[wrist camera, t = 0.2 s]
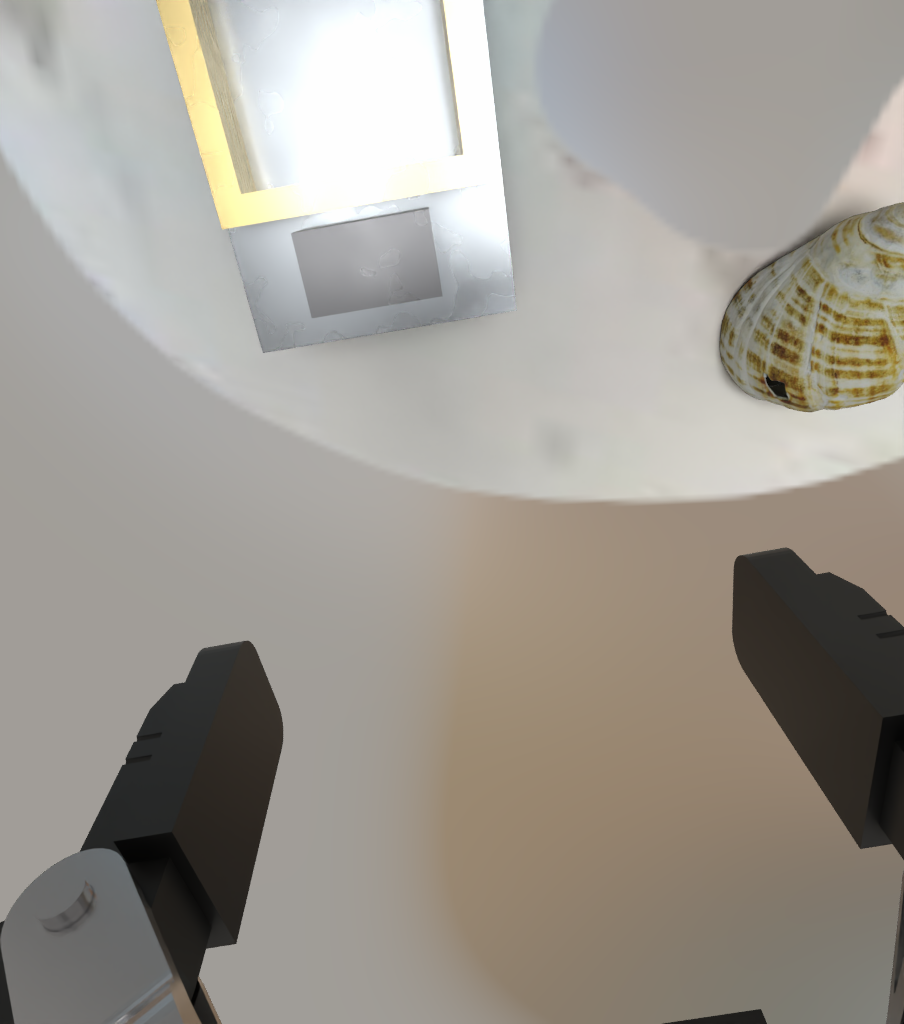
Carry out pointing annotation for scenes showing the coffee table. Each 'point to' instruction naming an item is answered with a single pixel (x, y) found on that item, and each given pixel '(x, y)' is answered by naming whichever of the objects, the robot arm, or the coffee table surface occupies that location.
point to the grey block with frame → (349, 159)
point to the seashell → (824, 319)
